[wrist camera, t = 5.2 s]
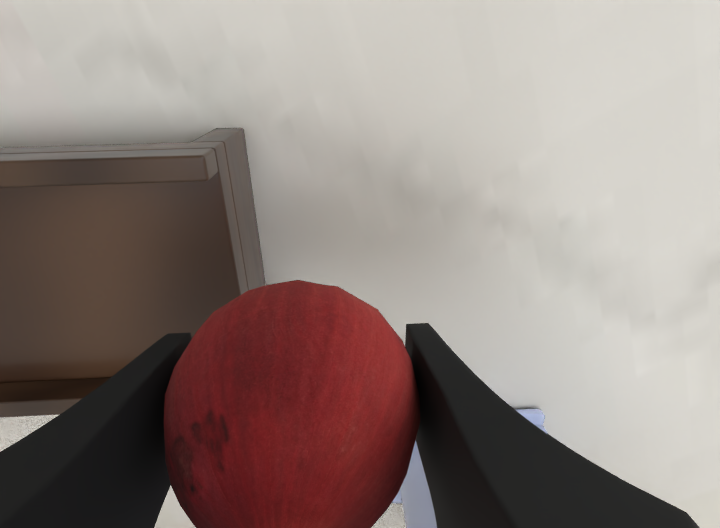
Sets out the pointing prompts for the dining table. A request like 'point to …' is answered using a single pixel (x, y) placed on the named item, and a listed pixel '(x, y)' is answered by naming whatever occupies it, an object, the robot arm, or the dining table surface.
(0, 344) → the shelf
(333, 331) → the onion
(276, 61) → the dining table surface
